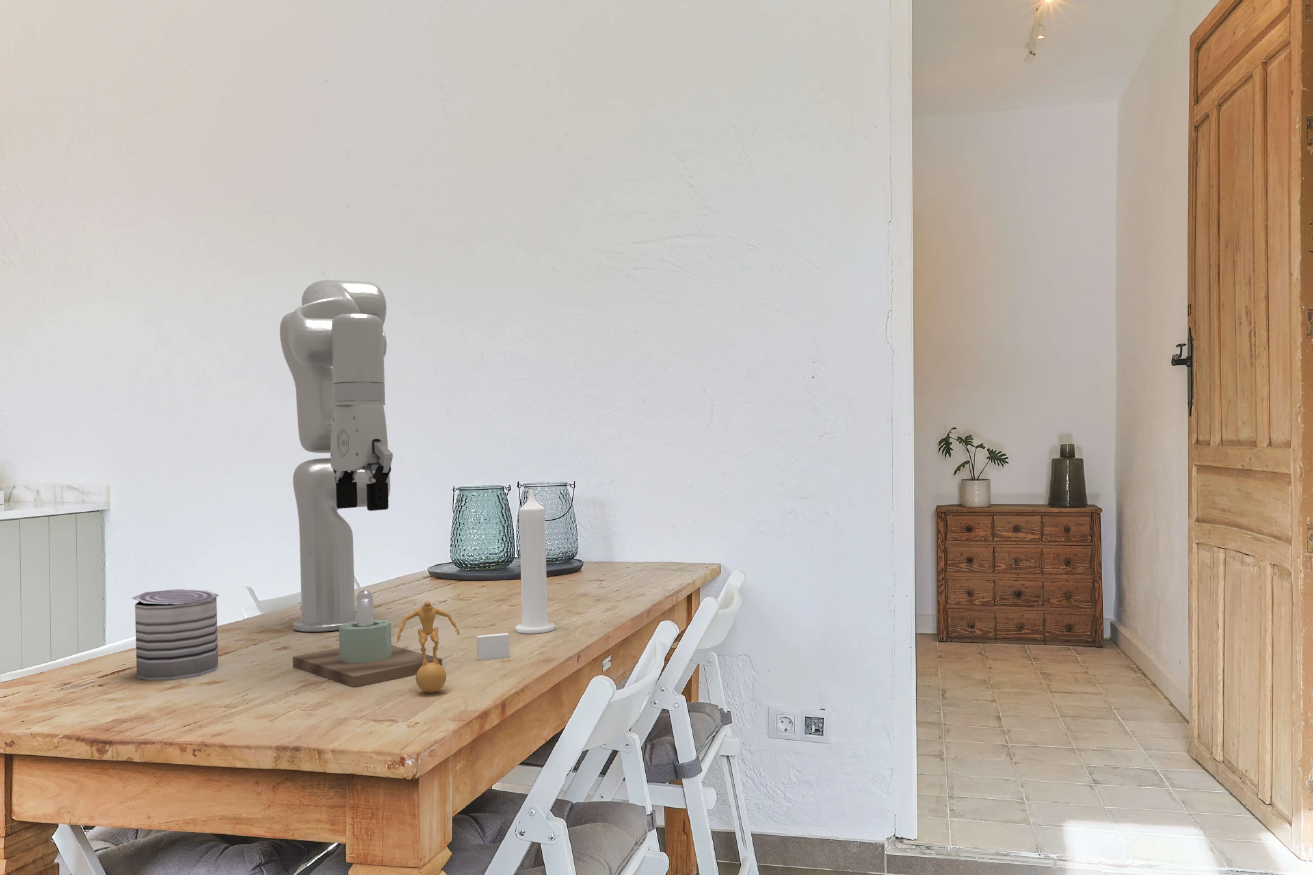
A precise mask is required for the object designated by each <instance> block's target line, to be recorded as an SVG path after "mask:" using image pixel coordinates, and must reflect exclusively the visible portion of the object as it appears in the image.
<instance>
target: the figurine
mask: <svg viewBox="0 0 1313 875" xmlns="http://www.w3.org/2000/svg"><path fill="white" fill-rule="evenodd" d="M437 615H438V616H442V617H447V618H448V621H449V622H450V623H451V625H452V626H453V628H454V629H455V632H456V635H457V636H460V629H459V627H458V626H457V623H456V622H455V621H454V619H453V618H452V615H451V614H450V613H449V612H446V611H445V610H444V611H443V610H441V609H439V608H438V607H434V606H432V604H431V602H430V601H429V600H426V601H425V602H424V603H423V604H422V605H421V606H420V607H419V608H418V609H416V610H414V611H413V612H411V613H410V614H408V615H406V616H405V617H403V619H402V621H401V625H400V627H399V630H398V632H397V635H396V640H397V642H399V641H401V638H402V637H403V636H402V632H403V630H404V628H405V625H406V623H407V621H409V620H411V619H414V618H416V617H418V619H419V620H420V624H421V627H422V628H419V629H418V630H417V634H418V642H419V644H420V646H421V647H420V653H422V657H423V664H422V666H421V667H420V668H419V670H418V671H417V674H415V682H416V685H417V687H418V688H419V690H421V691H423V692H424V693H428V694H431V693H436V692H439V691H440V690H441V689H442V688H443V687H444V686H445V683H446V681H447V672H446V670H445V668H444V667H443V665H442V666H441V665H440V664H439V663H438V661H437V657H438V656H437V655H438V654H437V651H438V650H439V645H440V644H439V643H440V641H439V640H440V638H439V628H438V627H437V626H435V627H433V626H434V622H435V619H436V616H437ZM428 636H430V640H431V641H432V642H433V644H434V645H433V647H432V656H433V662H430V663H428V662H427V659H426V655H427V653H426V650H427V648H426V642H427V640H428Z"/></svg>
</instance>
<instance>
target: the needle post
mask: <svg viewBox="0 0 1313 875" xmlns="http://www.w3.org/2000/svg"><path fill="white" fill-rule="evenodd" d="M355 599H356V600H355V601H356V602H355V603H356V615H357V627H369V626H374V620H375V619H374V594H373V593H372V592H371V591H370V590H367V589H362V590H361V591H358V593H357V594H356V598H355Z"/></svg>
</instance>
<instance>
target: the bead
mask: <svg viewBox="0 0 1313 875" xmlns="http://www.w3.org/2000/svg"><path fill="white" fill-rule="evenodd" d="M373 620H374V626H369V627H357V622H351V623H345V624H343V625H341V626H340V627H339V630H338V642H339V643H338V646H339V647H338V648H339V653H340V661H343V662H347V663H369V662H374V661H379V660H384V659H387V658H388V657H390V656H391V655H392V646H393V645H392V622H391V621H388V620H383V619H373Z"/></svg>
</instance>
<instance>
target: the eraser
mask: <svg viewBox="0 0 1313 875" xmlns="http://www.w3.org/2000/svg"><path fill="white" fill-rule="evenodd" d="M476 652H477V653H476V654H477V657H476V658H477V660H478V661H479V662H480V661H487V660H488V661H489V660H497V659H508V658H511V657H510V656H511V655H510V633H508V632H507V633H496V634H485V635H483V634H482V635H476Z"/></svg>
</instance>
